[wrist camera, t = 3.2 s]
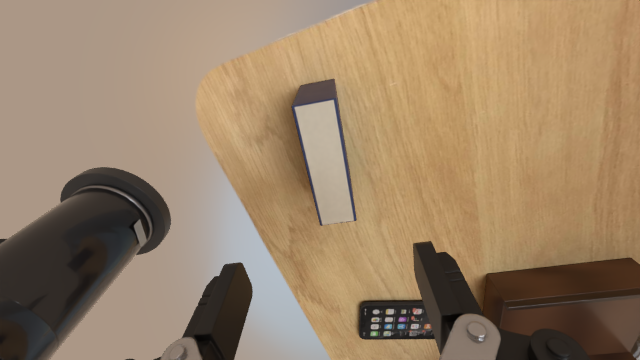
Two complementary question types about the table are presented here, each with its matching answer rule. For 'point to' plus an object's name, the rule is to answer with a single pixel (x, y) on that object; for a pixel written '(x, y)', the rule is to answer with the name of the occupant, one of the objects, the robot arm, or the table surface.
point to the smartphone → (394, 320)
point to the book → (324, 151)
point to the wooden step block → (571, 304)
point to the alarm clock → (636, 349)
